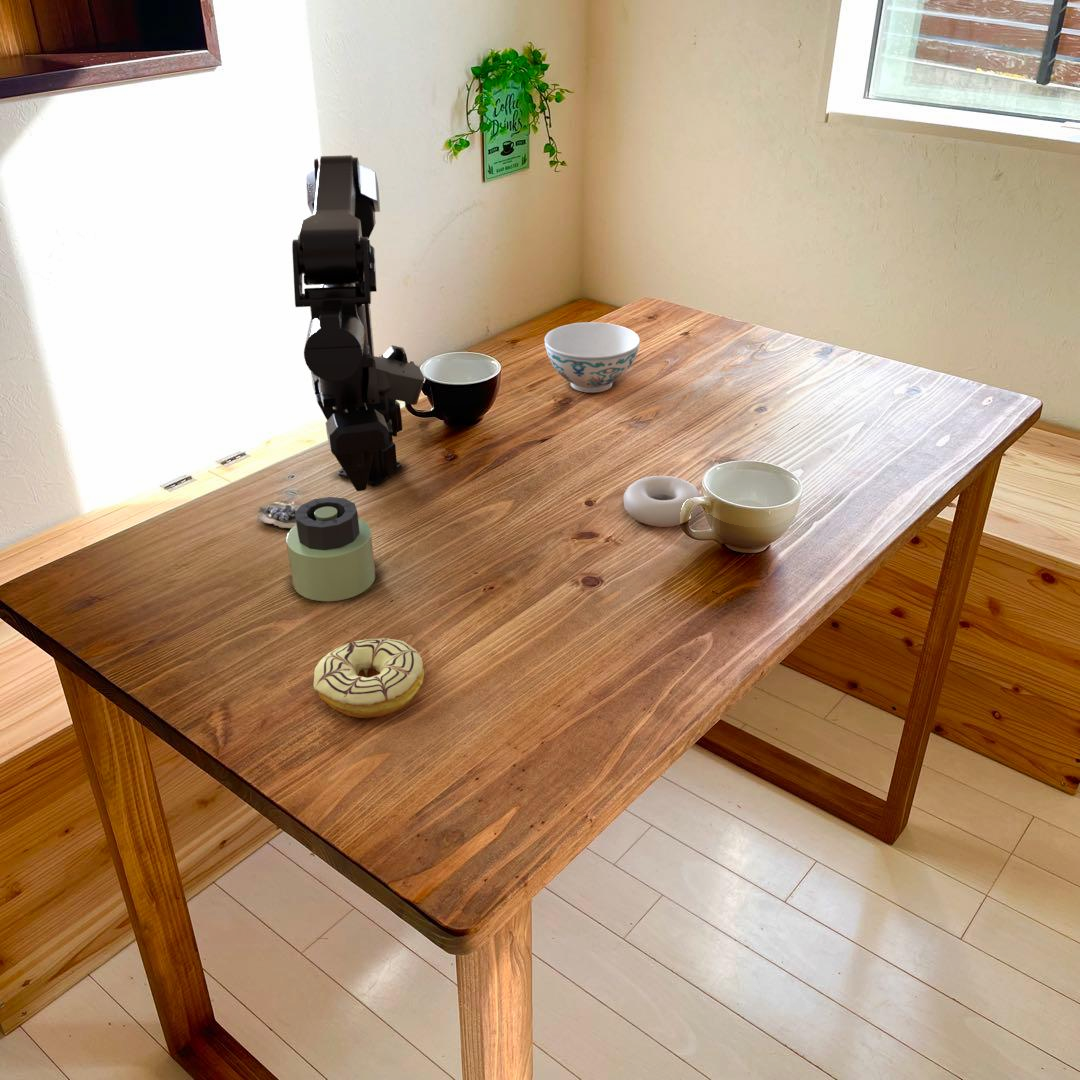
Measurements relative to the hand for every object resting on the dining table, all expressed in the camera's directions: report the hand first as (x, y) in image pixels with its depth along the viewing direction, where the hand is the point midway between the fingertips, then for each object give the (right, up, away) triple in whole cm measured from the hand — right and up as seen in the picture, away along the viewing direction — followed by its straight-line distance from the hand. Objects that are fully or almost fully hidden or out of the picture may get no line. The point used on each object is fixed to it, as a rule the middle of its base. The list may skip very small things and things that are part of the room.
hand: (355, 471), depth 127 cm
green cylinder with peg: (-3, -12, +2) cm, 13 cm away
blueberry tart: (-11, -5, +15) cm, 19 cm away
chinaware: (+30, +17, +50) cm, 61 cm away
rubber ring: (-3, -7, -1) cm, 8 cm away
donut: (+37, -5, +15) cm, 40 cm away
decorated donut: (+4, -23, -16) cm, 28 cm away
